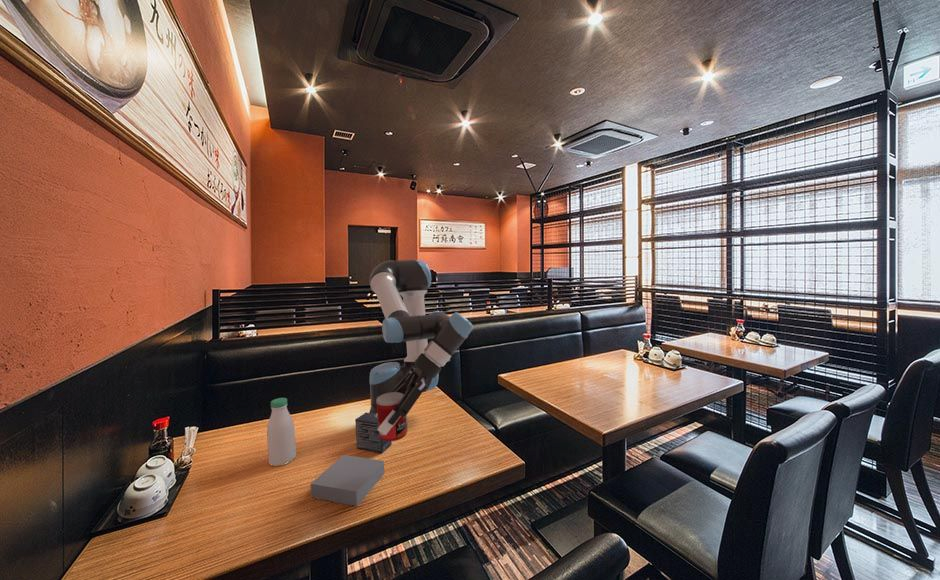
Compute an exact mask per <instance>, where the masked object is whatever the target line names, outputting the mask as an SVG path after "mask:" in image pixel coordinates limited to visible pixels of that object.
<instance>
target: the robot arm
mask: <svg viewBox="0 0 940 580" xmlns="http://www.w3.org/2000/svg"><path fill="white" fill-rule="evenodd" d="M368 282H369V286H370V289H371V291H372V292H374V293H375V294H376V297H377V299H378V302H379V305H380V309H381V310H382V314H383V315H384V319H383V320H382V324H381V329H382V331H381V333H382V337H383V340H384V342H385V343H387V344H389V343H390V344H393V343H394V344H395V343H396V344H399V343H406V354H407V355H406V357H405V358H404V359H403V365H401V363H400V362H398V361H393V362H392V361H391V362H390V361H388V362H384V363H381V364H379V365H376V366H374V367H373V368H371V370H370V372H369V380H368V381H369V387H370V388H369V390H370V392H369V393H370V409H369V412H368V413H373V414H376V415H375V417H377V418H378V415H377V404H376V399H377V398H378V397H379V396H380V395H383V394H386V393H390V392H399V393H402V394H404V396H403V397H402V399H401V400H400V402H399V404H398V405H397V407H396V408H393V409H392V411H391V413H390V414H389V415H388V416H387V418H386V419H385V420H384V421H383V423H382V424H381V425H380V426H379V428H378V429H377V430H378V431H379V432H381V433H383V434H384V435H386V434H387V433H388V432H389V431H390V429H391V428H392V427H393V425H394V424H395V423H396V422H397V420H398V419H399V418H400V417H401V416H404V417H405V416H406V417H407V416H408V414H409V412H410V411H411V409H412V408H413V406H414V405H415V403H417V401H418V400H419V398H420V396H421V395H422V394H423V393H426V392H429V391H433V390H434V389H436V387H437V385H438V383H439V373H440V372H441V370H442V368H441V367H444V366H445V365H446V363H447V362H450V361H451V358H452V356H453V355H454V354H455V353H456V352H457V350H458V349H459V348H460V346H461V345H462V344H463V343H464V341H466V339H468V337H469V335H470V333H471V332H472V331H473V328H474V325H473V324H472V323H471V321H469V320H468V319H467V318H466V317H465V316H463V314H461V313H459V312H458V311H457V312H454V313H452V315H448V314H447V313H445V312H443V311H438V310H435V311H433V312H431V313H428V314H426V307H425V306H426V305H425V295H426V294H427V292H428V288H430V287H431V286H432V273H431V270H430V267H429V265H428V264H427V262H426V261H424V260H420V259H419V260H417V259H398V260H397V259H396V260H392V259H391V260H385V261H383V262H381V263H379V264H378V265H376V266H375V267H374V268H373V270H372V271H371V273H370V275H369V281H368ZM429 339H432V340H430V342H428V340H429Z"/></svg>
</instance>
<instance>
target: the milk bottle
mask: <svg viewBox="0 0 940 580" xmlns="http://www.w3.org/2000/svg"><path fill="white" fill-rule="evenodd" d="M287 406H288V398H287V397H279V398H275V399H272V400H271V401H270V408H271V414H270V417H269V419H268V422H267V424H266V426H267V427H266V438H267V439H266V442H267V453H268V454H267V455H268V463H269V464H272V465H282V464H285V463H287V462H290V461H291V460H293V459H294V458H295V459H296V457H297V448H296V447H297V445H296V434H295V433H296V432H295V422H294V419H293V417H292V415H291V414H290V411H289V410H288V407H287ZM295 456H296V457H295ZM295 459H294V460H295ZM294 460H293V461H294ZM291 462H292V461H291ZM291 462H290V463H291ZM272 465H271V466H272ZM285 465H286V464H285ZM282 466H283V465H282Z"/></svg>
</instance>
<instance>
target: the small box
mask: <svg viewBox="0 0 940 580" xmlns="http://www.w3.org/2000/svg"><path fill="white" fill-rule="evenodd" d="M375 415H376V414H373V413H369V412H364V413H362V414H361V415H360V416H358V417H356V418H355V438H356V443H355V444H356V449H357V450H361V451H368V452H373V453H377V454H383V453H384V452H385V451H387V450H388V449H389V447H391V446H392V445H393V444H392V443H393V441H385V440H382V439H381V437H380V435H379V431H378V430H377V429H378V428H379V425H378V418H377V417H375Z"/></svg>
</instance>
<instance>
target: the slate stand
mask: <svg viewBox="0 0 940 580" xmlns="http://www.w3.org/2000/svg"><path fill="white" fill-rule="evenodd" d="M384 475H385V461H384V460H381V459H373V458H367V457H360V456H352V455H345V454H343V455H341V456H340V457H339V458H338V459H337V460H335V461H334V462H333V463H332V464H331V465H330V466H329V467H328V468H327V469H325V471H323V472H322V473H321V474H320V475H319V476H318V477H316V478H315V479H314V480H313V481H312V482H311V483H310V495H311V497H314V498H313V499H315V498H319V499H318V500H320V499H324V500H323V501H326V500H329V501H328V502H331V501H333V502H332V503H336V504H337V503H338V504H343V505H348V506H352V505H354V506H353V507H358V506H359V505H358V504H359V503H360V504H361V502H362V501H363V500H364V499H365V498H366V496H367V495H368V494H369V492H371V491H372V489H373V488H374V487H375V486H376V485H377V483H378V482H379V480H381V478H382V477H383V476H384Z"/></svg>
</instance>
